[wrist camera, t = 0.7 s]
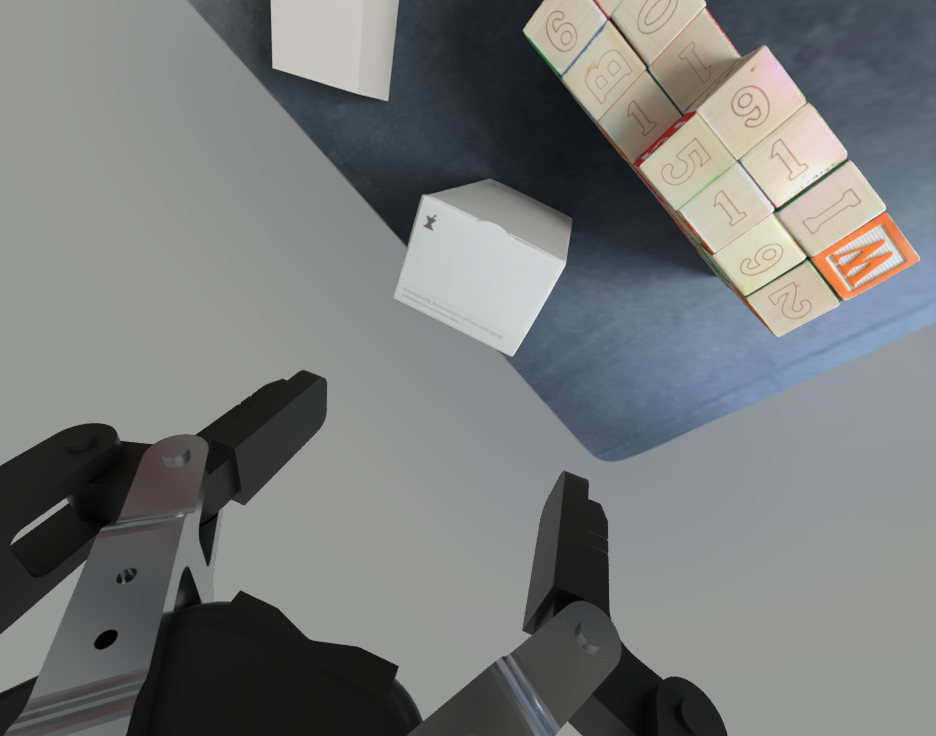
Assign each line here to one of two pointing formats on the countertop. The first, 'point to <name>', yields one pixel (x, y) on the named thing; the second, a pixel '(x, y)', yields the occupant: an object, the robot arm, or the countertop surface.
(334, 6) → the base block
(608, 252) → the countertop surface
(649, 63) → the stack of blocks
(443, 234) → the skincare box
